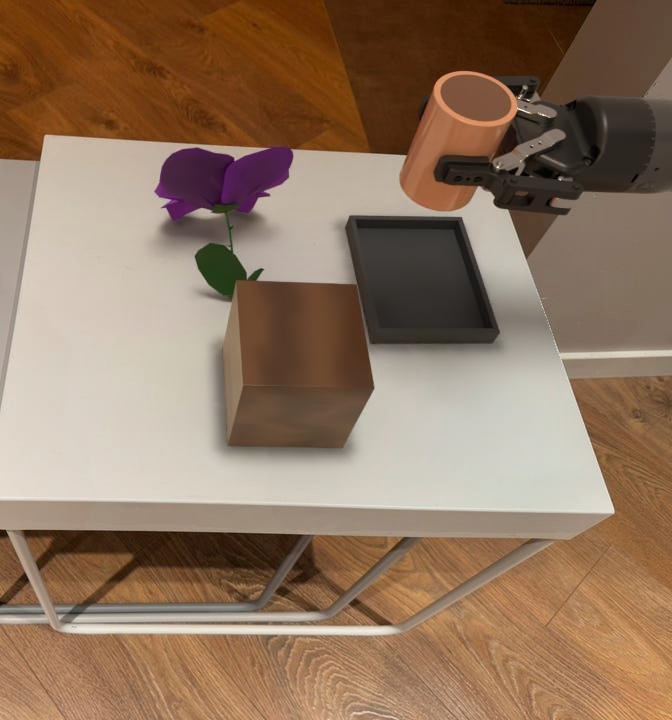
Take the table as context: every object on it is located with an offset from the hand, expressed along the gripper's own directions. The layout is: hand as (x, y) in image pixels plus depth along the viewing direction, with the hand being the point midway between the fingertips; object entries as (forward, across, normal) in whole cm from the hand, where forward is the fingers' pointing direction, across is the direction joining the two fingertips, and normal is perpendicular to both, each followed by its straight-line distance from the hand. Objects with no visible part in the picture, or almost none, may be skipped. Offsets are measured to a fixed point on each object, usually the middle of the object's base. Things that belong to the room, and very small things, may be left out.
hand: (429, 137), depth 62 cm
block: (+9, +10, +24) cm, 27 cm away
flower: (+14, -8, +24) cm, 29 cm away
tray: (-8, -5, +24) cm, 26 cm away
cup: (-2, 0, +5) cm, 6 cm away
